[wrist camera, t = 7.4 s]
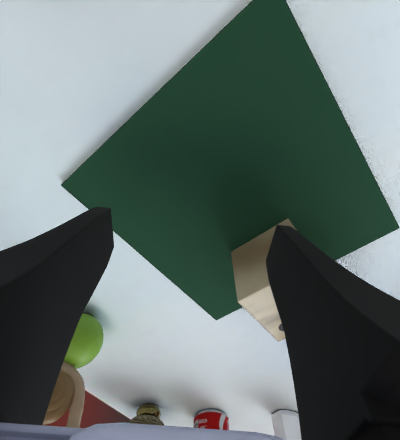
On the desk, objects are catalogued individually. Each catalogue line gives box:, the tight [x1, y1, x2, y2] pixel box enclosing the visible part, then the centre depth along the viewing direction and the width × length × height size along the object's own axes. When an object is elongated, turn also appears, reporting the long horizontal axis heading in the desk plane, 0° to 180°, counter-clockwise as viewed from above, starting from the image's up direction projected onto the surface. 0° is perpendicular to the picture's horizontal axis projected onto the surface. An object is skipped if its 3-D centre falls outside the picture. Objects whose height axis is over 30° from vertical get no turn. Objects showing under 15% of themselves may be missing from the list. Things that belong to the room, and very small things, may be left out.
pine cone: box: [128, 404, 165, 426], centre depth 37 cm, size 8×7×8 cm
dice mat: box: [61, 0, 399, 320], centre depth 22 cm, size 21×20×1 cm
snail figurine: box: [43, 313, 103, 428], centre depth 25 cm, size 5×6×12 cm
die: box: [231, 219, 296, 341], centre depth 22 cm, size 6×6×6 cm
